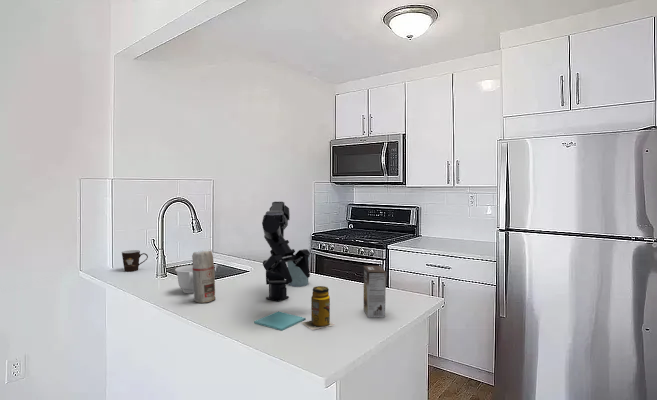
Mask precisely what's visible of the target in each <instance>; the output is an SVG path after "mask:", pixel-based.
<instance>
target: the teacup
mask: <svg viewBox="0 0 657 400" xmlns="http://www.w3.org/2000/svg"><path fill="white" fill-rule="evenodd" d="M174 271H175V272H176V276H177V277H176V278H177V281H178V286H179V288H180V289H182V290H183V293H184V294H194V285H193V264H191V265H189V264H188V265H183V266H182V265H181V266H179V267H176V268H175V269H174Z"/></svg>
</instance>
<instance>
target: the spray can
mask: <svg viewBox="0 0 657 400" xmlns="http://www.w3.org/2000/svg"><path fill="white" fill-rule="evenodd" d="M191 258H192V265H193V285H194V293H193V297H194V302H195V303H198V304H199V303H200V304H202V303H203V304H204V303H209V302H210V303H211V302H212V301H214V300H216V284H215V283H216V278H215V276H216V275H215V274H216V273H215V264H214V256H213V250H212V249H204V250H198V251H193V253H192V255H191Z"/></svg>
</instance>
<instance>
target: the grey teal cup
mask: <svg viewBox="0 0 657 400" xmlns="http://www.w3.org/2000/svg"><path fill="white" fill-rule="evenodd" d="M308 263H309V264H310V257H309V258H308ZM286 265H287V267H288V270H289V272H290V275H291V278H292V282H291V283H288V284H289V286H290V287H294V288H295V287H297V288H298V287H299V288H300V287H306V286H308V285H309V278H307V277H306V276H305V274H304V273H303V272H302V270H301V269H300V267H297V266H295V265H296V264H294V263H293V261H290V262H286Z"/></svg>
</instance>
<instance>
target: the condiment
mask: <svg viewBox="0 0 657 400" xmlns="http://www.w3.org/2000/svg"><path fill="white" fill-rule="evenodd" d="M329 291H330V289H329V288H328V286H324V285H321V286H320V285H319V286H318V285H317V286H316V285H315V286H314V287H313V288H312V295H311V300H310V302H311V309H310V310H311V314H310V315H311V319H310V320H308V321H302V322H301V324H302V325H303V326H306V327H307V328H309V329H310V330H312V331H314V330H318V329H323V328H329V327H331V326H335V325H336V324H335V323H333V322H331V321H330V320H331V316H330V315H331V313H330V312H331V309H330V305H331V303H330V301H331V297H330V295H329V293H330V292H329Z"/></svg>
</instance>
